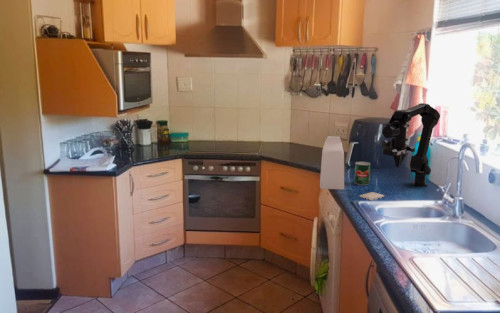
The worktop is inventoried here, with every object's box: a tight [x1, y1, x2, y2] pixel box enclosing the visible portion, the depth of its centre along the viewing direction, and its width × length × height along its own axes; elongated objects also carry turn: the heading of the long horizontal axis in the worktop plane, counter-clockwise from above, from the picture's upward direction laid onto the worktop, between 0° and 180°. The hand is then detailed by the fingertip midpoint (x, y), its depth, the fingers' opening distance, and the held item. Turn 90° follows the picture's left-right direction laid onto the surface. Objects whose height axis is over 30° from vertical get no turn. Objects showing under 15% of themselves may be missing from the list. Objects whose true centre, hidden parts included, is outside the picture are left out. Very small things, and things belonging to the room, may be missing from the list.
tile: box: [359, 191, 385, 201], centre depth 213 cm, size 2×7×9 cm
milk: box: [319, 136, 345, 190], centre depth 229 cm, size 12×12×26 cm
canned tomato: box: [353, 161, 371, 186], centre depth 236 cm, size 8×8×11 cm
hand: (397, 167), depth 221 cm, fingers closed
